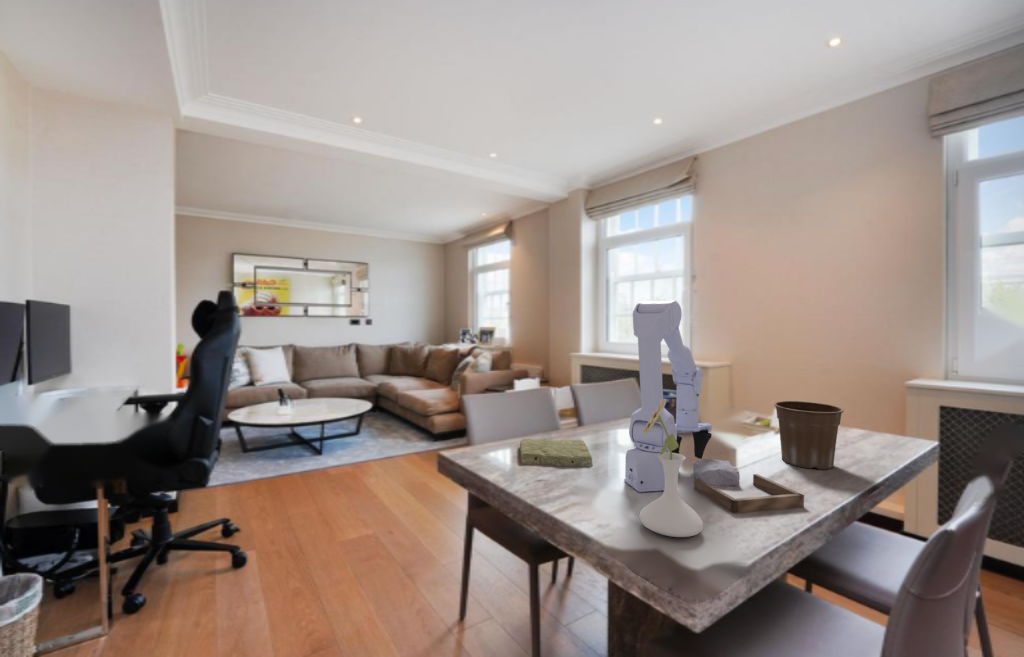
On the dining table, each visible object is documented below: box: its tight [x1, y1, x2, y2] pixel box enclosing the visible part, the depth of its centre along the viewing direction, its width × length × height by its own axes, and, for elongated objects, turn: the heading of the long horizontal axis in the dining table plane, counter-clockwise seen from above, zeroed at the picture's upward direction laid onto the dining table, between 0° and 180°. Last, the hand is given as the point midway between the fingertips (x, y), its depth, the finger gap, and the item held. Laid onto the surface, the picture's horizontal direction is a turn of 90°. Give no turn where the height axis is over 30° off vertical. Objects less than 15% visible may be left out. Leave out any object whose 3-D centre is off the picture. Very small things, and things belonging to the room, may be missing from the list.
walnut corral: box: [693, 473, 805, 514], centre depth 100 cm, size 17×14×2 cm
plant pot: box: [773, 400, 845, 470], centre depth 125 cm, size 16×16×16 cm
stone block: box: [692, 458, 741, 487], centre depth 113 cm, size 12×5×10 cm
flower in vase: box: [638, 398, 704, 538], centre depth 83 cm, size 13×11×25 cm
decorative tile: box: [519, 438, 593, 467], centre depth 130 cm, size 19×20×4 cm
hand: (686, 458), depth 122 cm, fingers open, 7 cm apart
